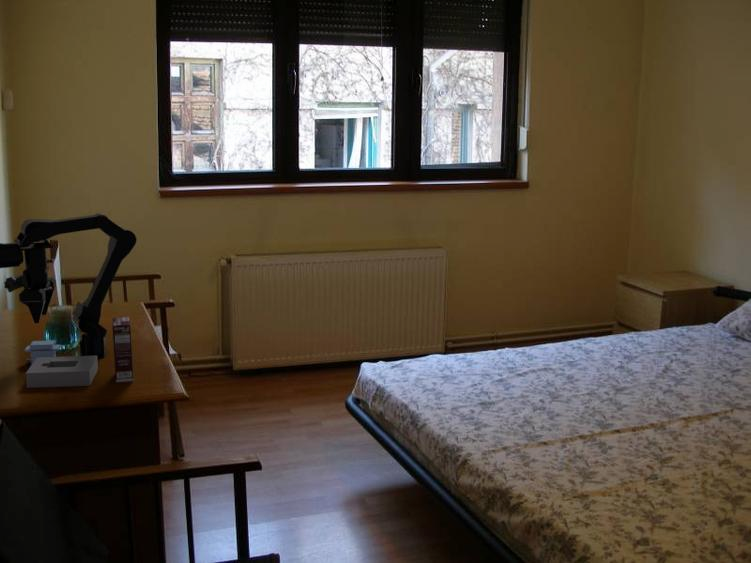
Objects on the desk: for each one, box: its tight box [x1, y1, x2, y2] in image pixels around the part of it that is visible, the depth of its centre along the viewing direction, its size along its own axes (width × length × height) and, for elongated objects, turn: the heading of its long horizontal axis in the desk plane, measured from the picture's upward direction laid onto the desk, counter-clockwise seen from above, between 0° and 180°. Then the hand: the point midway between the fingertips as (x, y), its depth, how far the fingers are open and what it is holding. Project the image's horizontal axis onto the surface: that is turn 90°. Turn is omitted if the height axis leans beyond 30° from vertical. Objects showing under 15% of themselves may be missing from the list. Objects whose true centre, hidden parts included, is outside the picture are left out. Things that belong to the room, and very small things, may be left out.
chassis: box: [25, 355, 99, 389], centre depth 242 cm, size 16×14×4 cm
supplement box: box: [111, 316, 134, 383], centre depth 242 cm, size 9×5×16 cm, turn 16°
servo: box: [24, 340, 62, 366], centre depth 255 cm, size 9×4×6 cm, turn 99°
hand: (40, 318), depth 253 cm, fingers open, 9 cm apart
